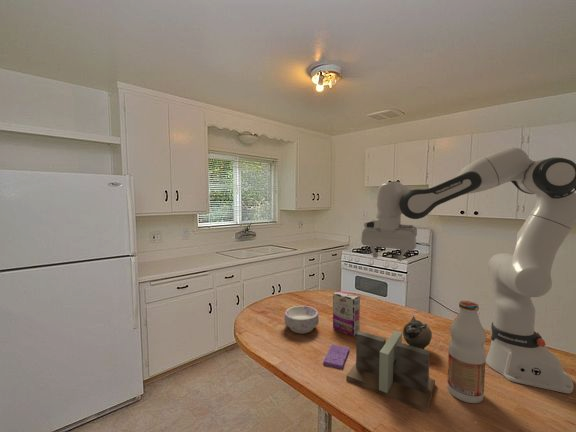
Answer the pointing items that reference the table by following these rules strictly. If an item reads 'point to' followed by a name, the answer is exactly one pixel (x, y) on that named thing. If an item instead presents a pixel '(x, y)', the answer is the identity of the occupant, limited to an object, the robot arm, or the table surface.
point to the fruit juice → (467, 355)
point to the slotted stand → (394, 371)
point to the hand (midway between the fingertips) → (387, 258)
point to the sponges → (336, 356)
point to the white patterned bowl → (301, 318)
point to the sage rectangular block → (388, 361)
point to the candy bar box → (346, 312)
